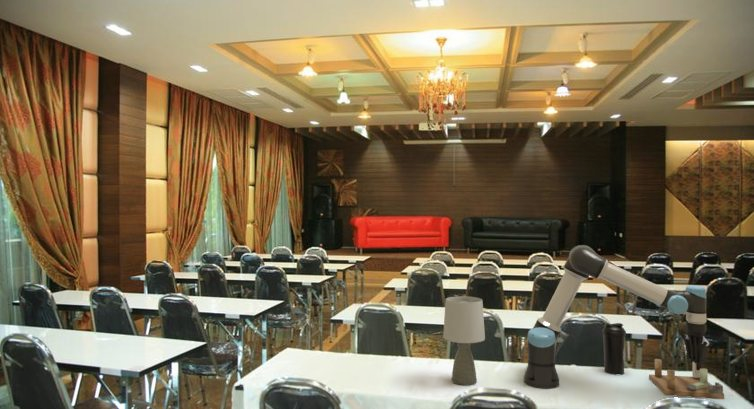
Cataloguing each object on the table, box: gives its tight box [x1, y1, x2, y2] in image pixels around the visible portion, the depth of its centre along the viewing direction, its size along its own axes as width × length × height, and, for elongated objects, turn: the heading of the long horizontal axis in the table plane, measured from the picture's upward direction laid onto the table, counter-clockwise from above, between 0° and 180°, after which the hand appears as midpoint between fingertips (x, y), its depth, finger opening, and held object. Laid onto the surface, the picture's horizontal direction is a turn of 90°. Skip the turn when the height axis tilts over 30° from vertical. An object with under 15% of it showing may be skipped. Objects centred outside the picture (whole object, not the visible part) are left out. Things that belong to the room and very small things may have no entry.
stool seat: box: [648, 358, 725, 400], centre depth 230 cm, size 22×22×10 cm
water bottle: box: [601, 322, 627, 376], centre depth 254 cm, size 10×10×23 cm
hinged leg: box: [687, 367, 709, 391], centre depth 224 cm, size 11×3×7 cm, turn 116°
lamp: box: [442, 296, 486, 386], centre depth 240 cm, size 19×19×37 cm
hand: (696, 376), depth 230 cm, fingers closed
